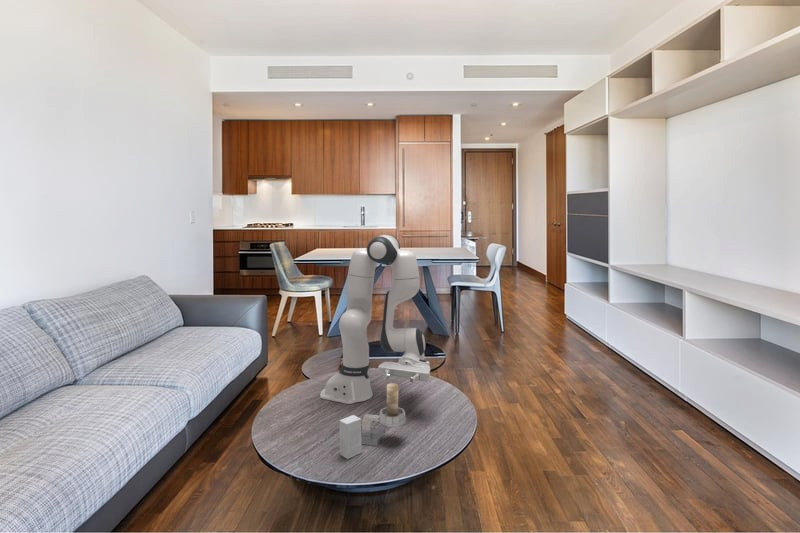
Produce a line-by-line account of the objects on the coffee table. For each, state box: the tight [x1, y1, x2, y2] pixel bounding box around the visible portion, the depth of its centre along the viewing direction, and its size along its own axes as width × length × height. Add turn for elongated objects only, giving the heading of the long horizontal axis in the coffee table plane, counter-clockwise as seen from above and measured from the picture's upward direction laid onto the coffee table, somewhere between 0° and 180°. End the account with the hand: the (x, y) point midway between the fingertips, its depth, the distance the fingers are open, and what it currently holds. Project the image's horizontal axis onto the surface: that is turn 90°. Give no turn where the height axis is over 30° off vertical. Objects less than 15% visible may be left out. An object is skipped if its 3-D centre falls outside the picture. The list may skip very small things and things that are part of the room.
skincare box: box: [338, 414, 363, 460], centre depth 151 cm, size 6×4×12 cm
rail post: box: [386, 382, 399, 416], centre depth 159 cm, size 4×4×12 cm
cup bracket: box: [361, 406, 406, 447], centre depth 161 cm, size 18×10×10 cm, turn 76°
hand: (399, 378), depth 171 cm, fingers open, 8 cm apart
